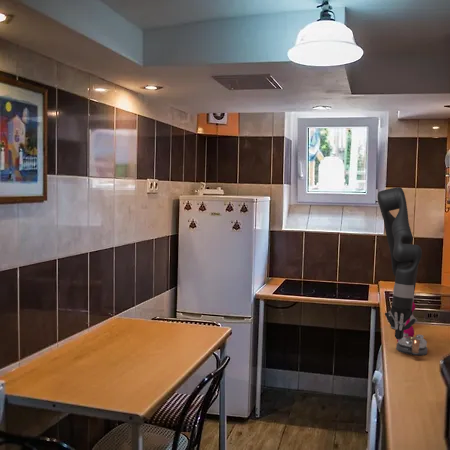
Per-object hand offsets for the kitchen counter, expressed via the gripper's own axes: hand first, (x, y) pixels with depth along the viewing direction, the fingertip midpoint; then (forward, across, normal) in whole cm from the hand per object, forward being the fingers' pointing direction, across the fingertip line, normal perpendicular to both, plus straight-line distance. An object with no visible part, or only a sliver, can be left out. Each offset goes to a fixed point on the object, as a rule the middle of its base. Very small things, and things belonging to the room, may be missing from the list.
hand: (398, 338), depth 215 cm
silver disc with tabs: (+7, 0, +13) cm, 15 cm away
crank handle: (+5, +2, +9) cm, 11 cm away
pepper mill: (+7, -7, +23) cm, 26 cm away
